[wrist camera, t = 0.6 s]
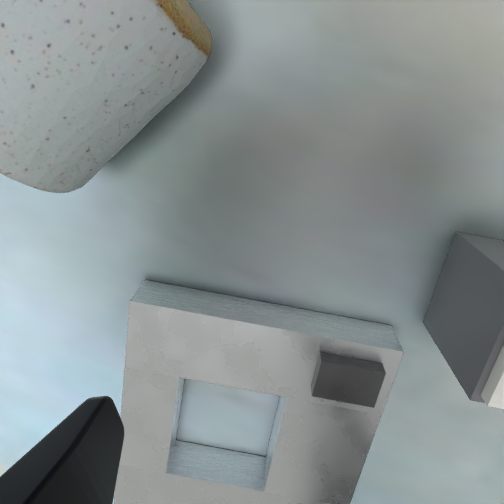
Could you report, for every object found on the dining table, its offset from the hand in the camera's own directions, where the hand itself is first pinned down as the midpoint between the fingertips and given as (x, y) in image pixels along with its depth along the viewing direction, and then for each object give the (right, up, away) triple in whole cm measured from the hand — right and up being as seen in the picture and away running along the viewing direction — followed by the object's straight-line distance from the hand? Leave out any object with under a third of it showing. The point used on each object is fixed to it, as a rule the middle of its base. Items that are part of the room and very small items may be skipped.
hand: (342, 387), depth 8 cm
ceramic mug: (-9, +12, +11) cm, 18 cm away
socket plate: (-2, -6, +17) cm, 18 cm away
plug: (+10, +1, +13) cm, 16 cm away
